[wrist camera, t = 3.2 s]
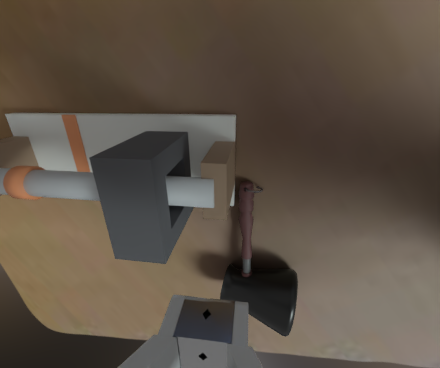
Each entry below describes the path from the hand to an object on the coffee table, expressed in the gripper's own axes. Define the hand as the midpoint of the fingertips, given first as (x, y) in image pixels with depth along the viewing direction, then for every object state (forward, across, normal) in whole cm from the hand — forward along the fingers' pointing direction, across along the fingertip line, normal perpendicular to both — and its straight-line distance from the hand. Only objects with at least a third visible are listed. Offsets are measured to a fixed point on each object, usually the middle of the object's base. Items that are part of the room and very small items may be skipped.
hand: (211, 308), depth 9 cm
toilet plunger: (+18, -4, +11) cm, 22 cm away
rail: (+18, +13, 0) cm, 23 cm away
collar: (+14, +6, 0) cm, 15 cm away
